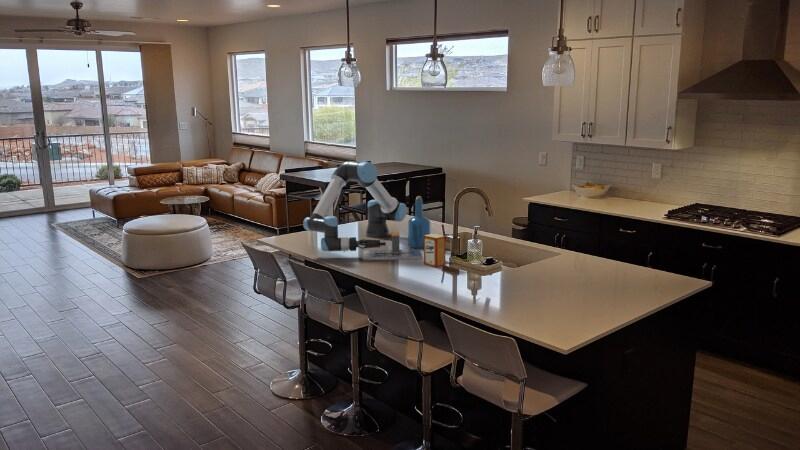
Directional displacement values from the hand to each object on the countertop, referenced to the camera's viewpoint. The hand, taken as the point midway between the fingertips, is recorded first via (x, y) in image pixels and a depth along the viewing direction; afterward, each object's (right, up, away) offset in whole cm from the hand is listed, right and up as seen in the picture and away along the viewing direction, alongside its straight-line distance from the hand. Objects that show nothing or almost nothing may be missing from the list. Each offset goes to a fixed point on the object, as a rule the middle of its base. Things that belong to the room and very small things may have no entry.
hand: (391, 243), depth 353 cm
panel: (0, -7, +2) cm, 7 cm away
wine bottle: (+16, -3, +23) cm, 28 cm away
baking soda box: (+23, -11, -18) cm, 31 cm away
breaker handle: (+2, -5, +2) cm, 6 cm away
